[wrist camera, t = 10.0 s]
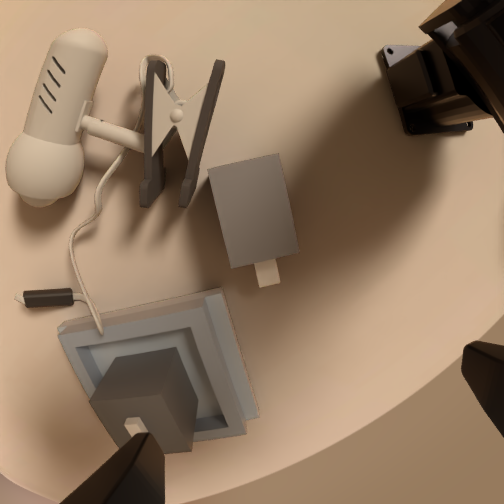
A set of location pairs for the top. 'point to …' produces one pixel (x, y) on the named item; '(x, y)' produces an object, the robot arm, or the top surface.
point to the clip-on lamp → (100, 136)
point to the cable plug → (255, 214)
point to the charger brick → (148, 400)
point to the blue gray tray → (188, 345)
